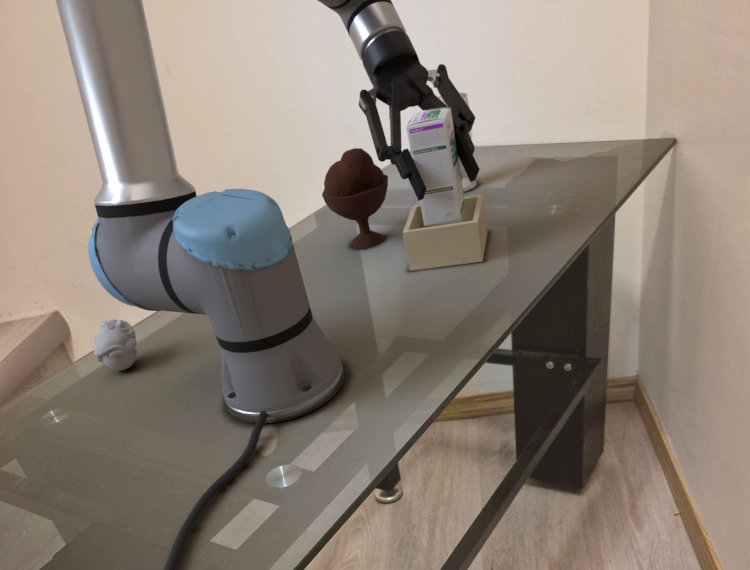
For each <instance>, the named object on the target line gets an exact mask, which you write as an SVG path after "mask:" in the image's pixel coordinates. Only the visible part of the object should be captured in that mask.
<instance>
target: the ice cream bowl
mask: <svg viewBox="0 0 750 570" xmlns="http://www.w3.org/2000/svg"><path fill="white" fill-rule="evenodd" d="M323 185H324V186H323V187H324V189H323V191H322V193H321V196H322V199H323V201H324V203H325V204H326V206H327V207H328V208H329V210H330V211H331V212H333V213H334V214H336V215H338V216H340V217H342V218H344V219H347V220H350V221H356V223H357V224H358V225H357V226H358V231H359V233H358V234H356V236H355V237H354V238H353V239H352V241H351V248H354V249H356V250H359V249H361V250H362V249H363V250H364V249H368V248H371V247H375V246H377V245H379V244H380V243H382V242H383V239H384V236H383V234H381V233H379V232H377V231H373V230H371V227H370V223H369V218H370V217H371V216H372V215H374V214H376V213H377V211H379V210H380V208H381V207H382V205H383V204H384V202H385V200H386V196H387V192H388V187H389V175H387V174H384V171H382V169H381V167H379V166H378V165H376V164H375V163H374V160H373V158H372V156H371V155H370V153H368V152H367V151H366V150H364V149H363V148H361V147H360V148H358V147H357V148H356V147H353V148H351V149H347V150H345V151H344V152H343V153H342V155H341V157H340V160H337V161H335V162H334V163H333V164H332V165H330V167H329V168H328V170H327V172H326V174H325V176H324V182H323Z"/></svg>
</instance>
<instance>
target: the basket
mask: <svg viewBox="0 0 750 570" xmlns="http://www.w3.org/2000/svg"><path fill="white" fill-rule="evenodd" d="M464 199H465V210H464V213H463V216H462V219H461V222H456V223H450V224H443V225H435V226H425V225H424V221H423V216H422V210H421V205H420V203H417V204H412V207H411V210H410V212H409V215H408V216H407V220H406V222H405V225H404V228H403V231H402V237H403V242H404V247H405V253H406V259H407V263H408V268H409V271H410V272H413V271H421V270H429V269H437V268H443V267H452V266H459V265H467V264H468V265H469V264H476V263H481V262H482V263H483V261H484V256H485V250H486V246H487V245H486V244H487V238H488V223H487V222H488V221H487V215H486V206H485V197H484V194H483V193H482V194H474V195H468V196H464Z"/></svg>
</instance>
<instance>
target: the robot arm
mask: <svg viewBox="0 0 750 570" xmlns="http://www.w3.org/2000/svg"><path fill="white" fill-rule="evenodd" d="M316 1H317V2H319V3H320V4H322V5H323V6H325V7H326V8H328V9H330V10H331V11H333V12H335V13H336V14H337V16H339V17H340V19H341V21H342V23H343V25H344V27H345V30H346V31H347V34H348V36H349V38H350V40H351V42H352V44H353V47H354V48H355V49H354V50H355V51H356V53H357V55H358V57H359V60H360V61H361V62H362V66H363V68H364V70H365V72H366V75H367V77H368V79H369V81H370V83H371V85H372V88H371V89H369V90H367V89H361V90H360V91H359V97H358V107H359V108H360V110H361V112H363V114H364V115H365V117H366V121H367V125H368V129H369V131H370V135H371V139H372V142H373V146H374V150H375V154H376V156H377V157H376V158H377V159H378V161H379V162H385V161H386V160H387V161H388V160H389V161H390V164H391V165H392V166H393V165H394V166H395V167H396V170H397V171H398V174H399V176H400V178H401V179H402V180H408V181H409V183H410V186H411V187H412V190H413V192H414V194H415V196H416V198H417V200H418V201H419V202H420V200H422V199H423V198H424V195H425V192H426V189H427V188H426V186H425V184H424V182H423V180H422V178H421V176H420V173H419V171H418V169H417V167H416V165H415V163H414V161H413V158H412V156H411V151H410V149H409V148H405V149H403V148H402V147H403V146H402V119H401V118H402V117H401V116H402V115H401V114H402V113H401V112H403V111H405V110H407V109H408V108H413V107H418V108H420V109H421V111H425V110H430V109H435V108H443V107H447V106H448V107H450V108H451V113H452V119H453V126H454V133H455V139H456V146H457V153H458V157H459V159H460V161H461V163H462V165H463V167H464V169H465V171H466V173H467V176H468V178H469V180H470V182H472V181H475V180H476V181H477V178H478V175H479V173H480V169H481V168H480V167H479V165H478V163H477V161H476V159H475V157H474V153H475V151H476V147H475V144H474V142H473V139H472V140H471V138H470V136H469V134H468V132H470V131H471V129H472V130H473V126H474V124H475V121H476V115H475V114H474V113H473V111H472V110H471V108H469V107H470V106H469V107H468V105H467V104H466V102H465V101H464V99H463V98H462V97H461V95H460V94H459V93H460V92H459V91H458V89H457V87H456V86H455V85H454V83H453V82H452V80H451V79H450V77H449V74H448V70H447V66H446V65H445V64H444V63H441V64H438V66H437V68H435V69H429V70H428V69H427V68H426V67H425V66H424V65H423V64H422V63H421V61H420V58H419V56H418V53H417V51H416V49H415V47H414V45H413V42H412V41H411V39H410V37H409V35H408V33H407V30H406V28H405V26H404V24H403V22H402V20H401V17H400V15H399V14H398V12H397V10H396V7H395V5H394V4H393V1H392V0H316ZM55 3H56V7H57V11H58V14H59V15H58V16H59V18H60V22H61V26H62V30H63V33H64V38H65V42H66V45H67V50H68V53H69V57H70V61H71V65H72V68H73V72H74V76H75V77H74V78H75V81H76V85H77V89H78V91H79V96H80V99H81V103H82V107H83V112H84V115H85V119H86V123H87V127H88V131H89V134H90V138H91V142H92V146H93V150H94V155H95V157H96V161H97V162H96V163H97V164H98V169H99V173H100V176H101V177H100V178H101V180H102V185H101V188H100V190H99V191H98V193H97V194H96V196H95V197H94V200H93V203H94V207H95V211H96V215H97V219H96V220H95V222H94V224H93V225H92V227H91V231H92V233H91V235H90V236H88V240H87V241H88V242H87V252H88V259H89V263H90V266H91V269H92V271H93V273H94V275H95V277H96V279H97V281H98V283H99V284H100V285H101V286H102V288H103V289H104V290H105V291H106V292H107V293H108V294H109V295H110V296H111V297H113V298H114V299H116V300H117V301H118V302H121V303H123V304H125V305H127V306H131V307H134V308H135V307H137V308H138V309H141V310H144V311H149V312H161V311H164V312H172V313H173V312H174V313H183V314H193V315H203V316H207V318H208V320H209V323H210V325H211V328H212V331H213V332H214V335H215V338H216V340H217V343H218V346H219V349H220V363H221V364H220V365H221V389H222V396H223V399H224V402H225V404H226V407H227V410H228V411H229V413H230V414H231V416H233V417H235V418H236V419H238V420H240V421H243V422H246V423H252V424H254V426H253V429H252V431H251V434H250V436H249V439H248V443H247V445H246V448H245V450H244V451H243V452H242V453H241V455H240V456H239V458H238V459H237V460H236V461H235V462H234V463H233V464H232V465H231V466H230V467H229V468H228V469H227V470H226V471H225V472H224V473H223V474H222V475H221V476H219V478H217V479H216V480H215V481H214V482H213V483H212V484H211V485H210V486H209V487H208V488H207V490H206V491H204V493H202V495H201V497H200V498H199V499H198V501H197V502H196V503H195V505H194V506H193V507H192V509H191V511H190V512H189V514H188V515H187V517H186V518H185V520H184V522H183V524H182V526H181V528H180V530H179V532H178V534H177V536H176V537H175V540H174V542H173V544H172V547H171V550H170V552H169V554H168V557H167V560H166V562H165V566H164V568H163V570H176V567H177V564H178V561H179V559H180V555H181V553H182V550H183V548H184V546H185V544H186V541H187V539H188V537H189V535H190V532H191V530H192V529H193V527H194V525H195V523H196V521H197V520H198V518H199V517H200V515H202V514H201V513H203V511H204V510H205V508H206V506H207V505H208V504H209V502H210V501H211V500H212V499H213V498H214V496H216V495H217V493H218V492H219V491H221V489H222V488H223V487H225V486H226V485H227V484H228V483H229V482H230V481H231V480H232V479H233V478H234V477H235V476H236V475H237V474H238V473H239V472H240V471H241V470H242V469H243V468H244V466H246V464H247V463H248V462H249V460H250V459H251V457H252V455H253V454H254V452H255V451H256V447H257V445H258V442H259V439H260V435H261V433H262V431H263V428H264V425H265V424H273V423H279V422H284V421H289V420H292V419H295V418H298V417H301V416H303V415H306V414H308V413H310V412H312V411H314V410H316V409H318V408H319V407H321V406H323V405H324V404H326V403H327V402H328V401H330V400H331V399H332V398H333V397H335V395H336V394H337V393H338V392H339V390H340V389H341V387H342V386H343V384H344V381H345V370H344V367H343V363H342V360H341V358H340V356H339V354H338V352H337V351H336V349H335V348H334V346H333V345H332V343H331V342H330V341H329V339H328V337H327V336H326V335H325V333H324V332H323V331H322V329H321V327H320V326H319V324H318V323H317V321H315V318H314V316H313V312H312V308H311V305H310V300H309V298H308V294H307V290H306V286H305V283H304V279H303V276H302V272H301V269H300V264H299V261H298V257H297V253H296V250H295V247H294V242H293V237H292V234H291V230H290V228H289V227H288V225H287V223H286V221H285V220H286V219H285V218H284V215H283V212H282V209H281V207H280V205H279V204H278V202H276V200H275V199H274V198H273V197H271V196H270V195H268V194H266V193H264V192H261V191H259V190H254V189H248V188H247V189H246V188H227V189H224V190H223V191H216V190H215V191H210V192H206V193H203V194H200V195H197V191H196V187H195V186H194V185H193V184H192V183H190V182H189V181H188V180H186V179H185V178H184V177H183V176H182V174H180V172H179V169H178V164H177V159H176V155H175V149H174V145H173V144H174V143H173V141H172V135H171V130H170V126H169V122H168V116H167V112H166V107H165V102H164V97H163V93H162V88H161V84H160V78H159V74H158V73H159V72H158V69H157V64H156V59H155V55H154V49H153V45H152V40H151V36H150V35H151V34H150V31H149V26H148V20H147V17H146V12H145V6H144V3H143V0H55ZM427 82H430V83H431V84H432V86H433V88H434V89H437V92H438V94H439V95H440V96H441V97H442V98H443V100H444V101H445V103H446V104H447V106H446V105H445V104H444V103H443V102H442V101H441V100H440V99H439V98H438V97H439V96H437V95H436V94H435V92H434V91H433V88H432V87H430V86H429V85H428V84H427ZM377 100H379V101H380V102H382V103H383V104H385V105H387V106H388V111H389V113H388V115H389V116H388V117H389V132H390V133H389V134H390V135H389V136H390V137H389V139H390V145H389V144H388V142H387V138H386V135H385V131H384V128H383V126H382V121H381V117H380V114H379V110H378V107H377Z"/></svg>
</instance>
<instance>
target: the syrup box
mask: <svg viewBox="0 0 750 570" xmlns="http://www.w3.org/2000/svg"><path fill="white" fill-rule="evenodd" d="M405 130H406V133H407V140H408V145H409V152H410V154H411V156H412V158H413V161H414V163H415V165H416V167H417V169H418V171H419V173H420V176H421V178H422V180H423V182H424V184H425V186H426V188H427V189H426V192H425V195H424V198H423V199H422V200H419V204H420V205H421V210H422V216H423V221H424V225H425V226H435V225H443V224H450V223H456V222H461V219H462V216H463V213H464V210H465V199H464V197H465V194H464V193H465V192H463V186H462V179H461V173H460V166H459V159H458V153H457V146H456V139H455V133H454V126H453V119H452V113H451V108H450V107H443V108H435V109H430V110H421V111H419V112H416V113H412V116H411V118H410V119H409V120H408V122H407V124H406V126H405Z"/></svg>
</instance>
